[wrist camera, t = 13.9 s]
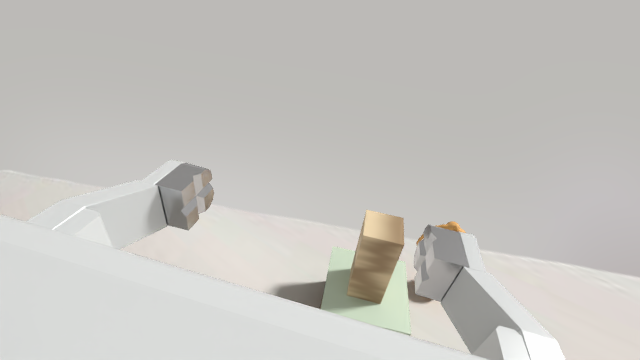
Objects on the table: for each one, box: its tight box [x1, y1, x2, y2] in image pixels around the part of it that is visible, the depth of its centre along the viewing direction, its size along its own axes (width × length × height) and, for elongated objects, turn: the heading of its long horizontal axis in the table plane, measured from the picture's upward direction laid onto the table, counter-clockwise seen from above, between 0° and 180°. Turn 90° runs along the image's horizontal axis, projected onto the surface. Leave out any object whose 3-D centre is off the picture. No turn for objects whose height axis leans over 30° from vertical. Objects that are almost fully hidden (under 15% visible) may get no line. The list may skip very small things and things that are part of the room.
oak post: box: [347, 210, 404, 304], centre depth 33 cm, size 4×4×10 cm
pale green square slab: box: [321, 247, 411, 336], centre depth 37 cm, size 10×10×4 cm
